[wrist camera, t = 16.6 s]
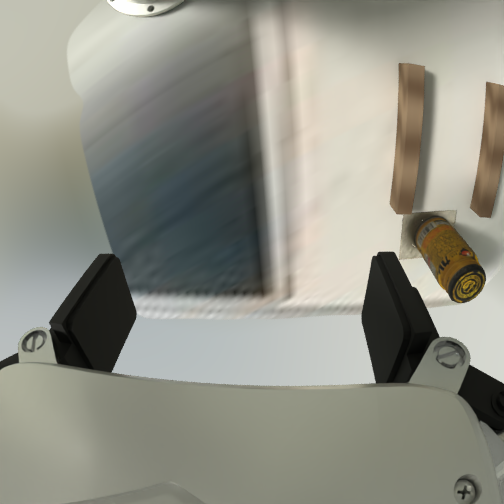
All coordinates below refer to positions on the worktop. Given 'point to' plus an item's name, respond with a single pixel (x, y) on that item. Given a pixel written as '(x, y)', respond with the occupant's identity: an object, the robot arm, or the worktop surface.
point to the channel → (409, 141)
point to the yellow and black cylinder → (443, 253)
